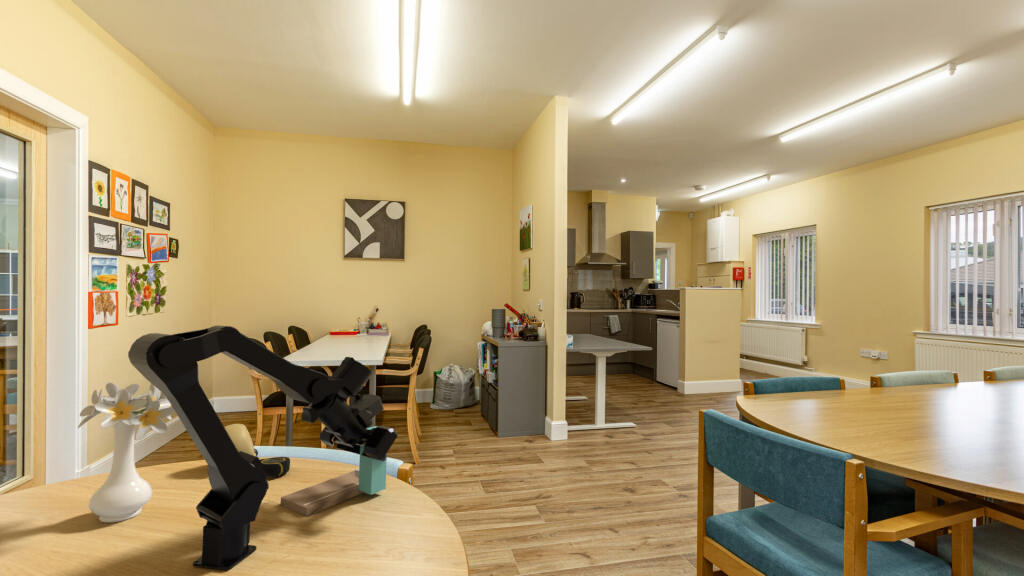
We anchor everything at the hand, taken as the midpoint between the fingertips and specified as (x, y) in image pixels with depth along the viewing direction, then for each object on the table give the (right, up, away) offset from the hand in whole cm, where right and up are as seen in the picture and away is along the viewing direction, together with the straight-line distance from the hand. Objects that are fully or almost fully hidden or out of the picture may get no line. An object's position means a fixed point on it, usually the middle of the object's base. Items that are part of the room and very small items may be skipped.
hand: (378, 457), depth 101 cm
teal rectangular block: (-2, -7, -1) cm, 7 cm away
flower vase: (-45, -7, -13) cm, 47 cm away
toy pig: (-41, -8, +14) cm, 44 cm away
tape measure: (-28, -8, +9) cm, 31 cm away
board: (-9, -8, -1) cm, 12 cm away
